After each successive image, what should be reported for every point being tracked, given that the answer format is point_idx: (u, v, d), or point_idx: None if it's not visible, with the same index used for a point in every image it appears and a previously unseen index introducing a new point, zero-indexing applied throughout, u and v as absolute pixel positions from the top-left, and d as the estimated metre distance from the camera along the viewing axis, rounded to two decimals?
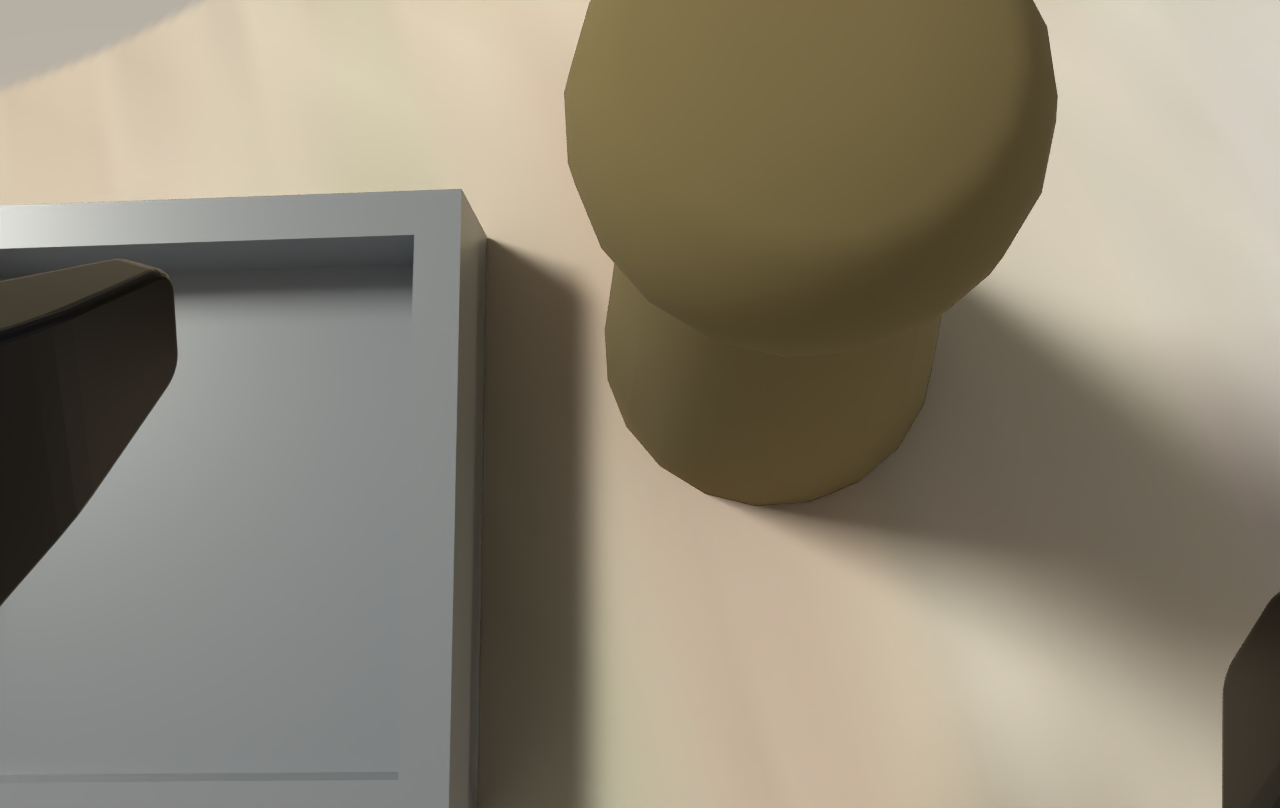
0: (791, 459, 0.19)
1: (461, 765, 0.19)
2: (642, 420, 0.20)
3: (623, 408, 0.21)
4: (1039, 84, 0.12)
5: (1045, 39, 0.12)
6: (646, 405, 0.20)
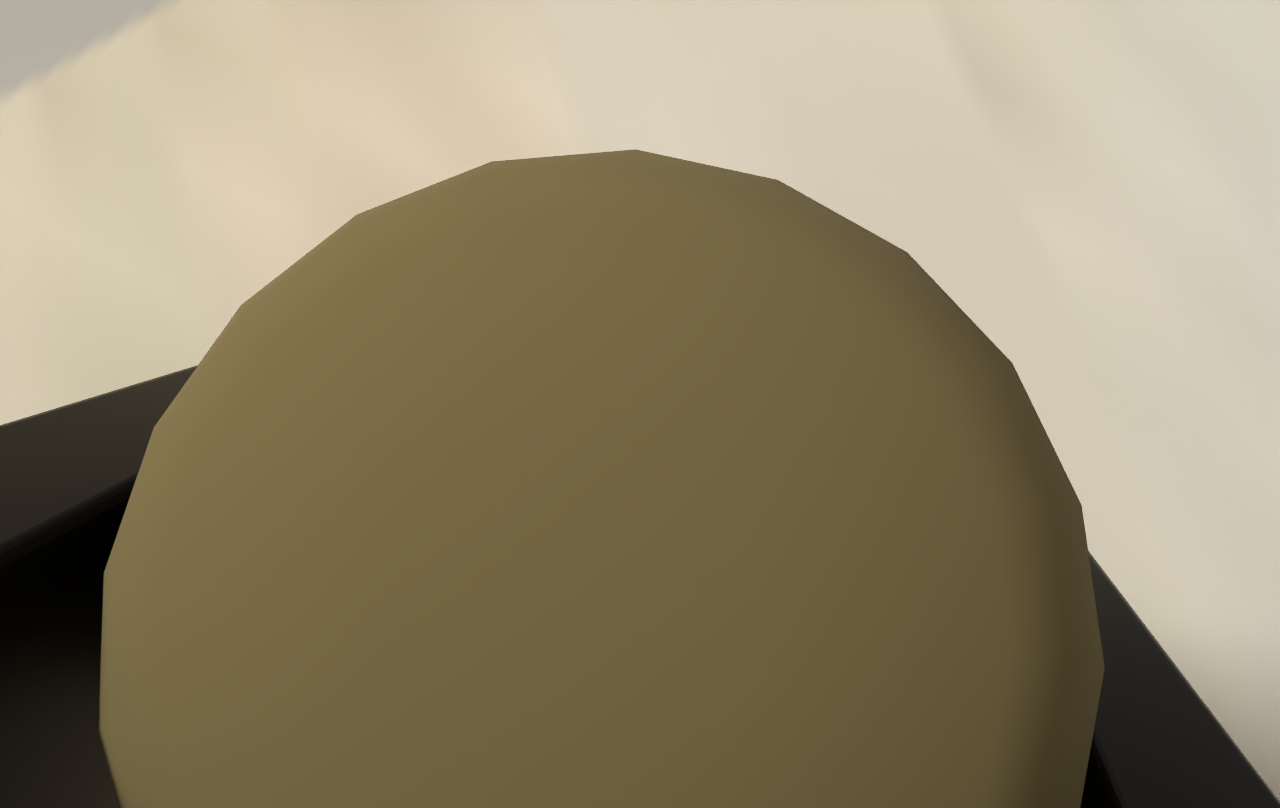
0: None
1: None
2: None
3: None
4: (1068, 681, 0.05)
5: (1079, 547, 0.06)
6: None
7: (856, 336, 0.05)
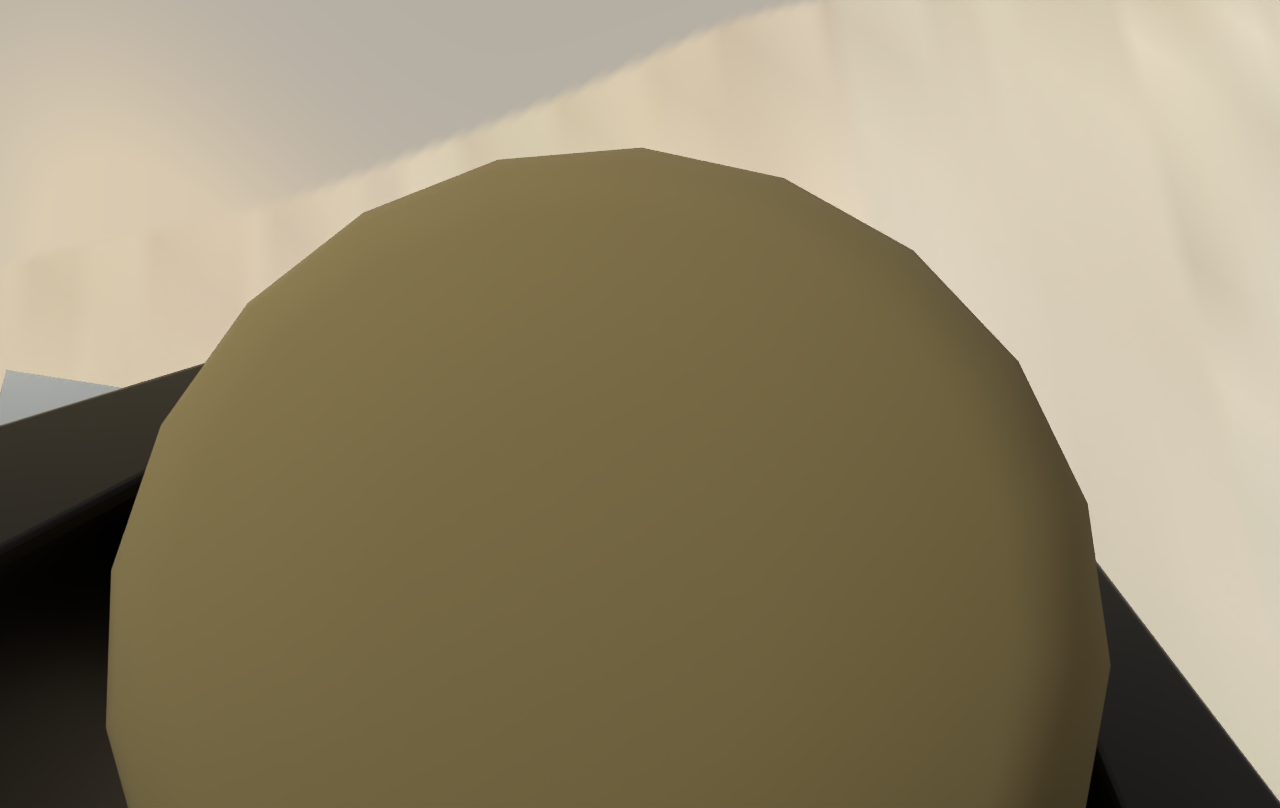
0: None
1: None
2: None
3: None
4: (1074, 679, 0.05)
5: (1085, 545, 0.06)
6: None
7: (863, 334, 0.05)
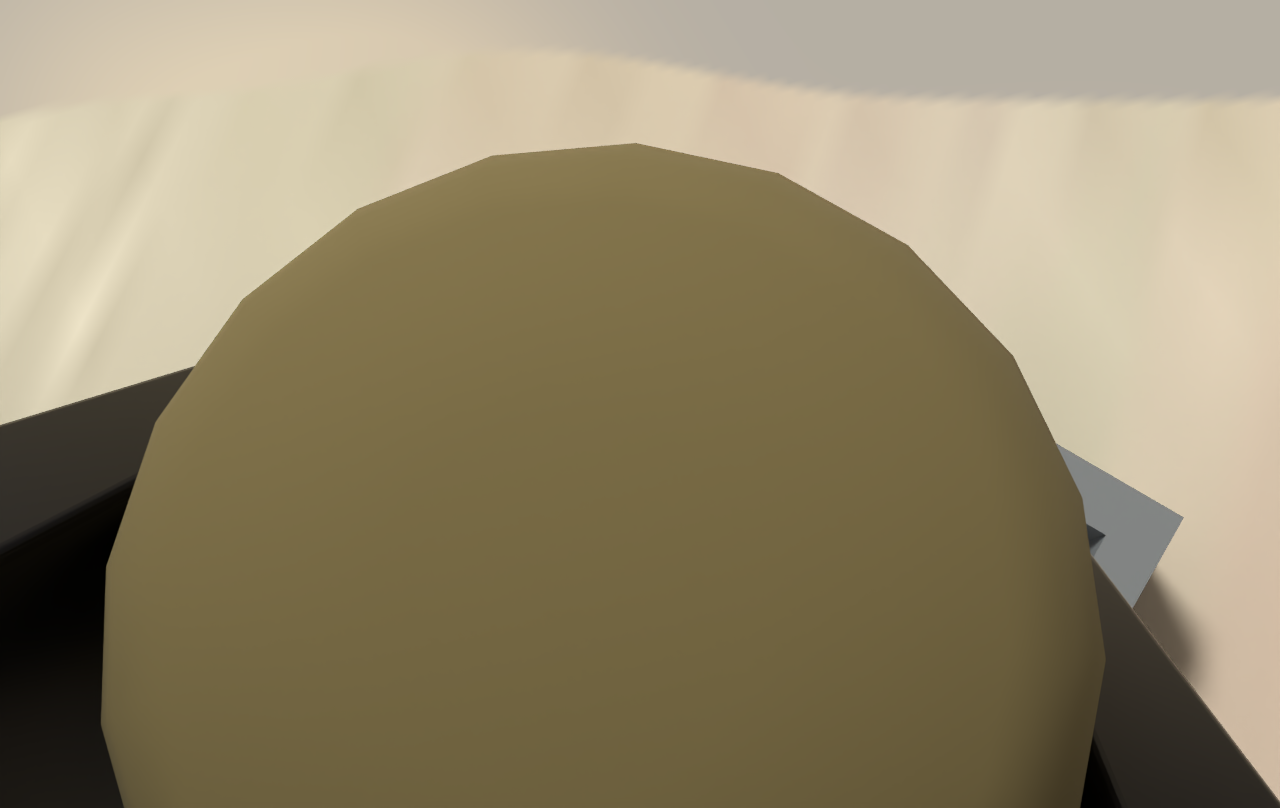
0: None
1: None
2: None
3: None
4: (1068, 673, 0.05)
5: (1079, 539, 0.06)
6: None
7: (856, 330, 0.05)
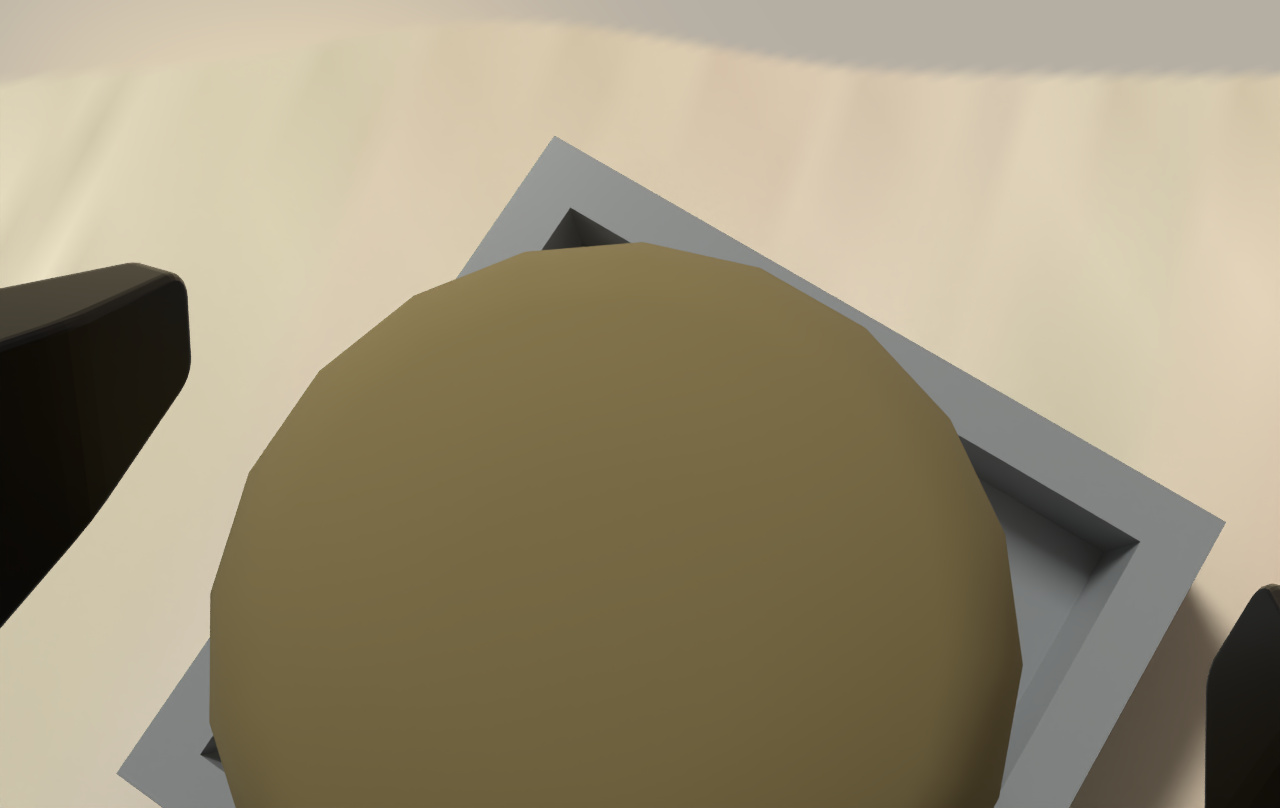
0: None
1: None
2: None
3: None
4: (990, 676, 0.07)
5: (1002, 569, 0.07)
6: None
7: (824, 404, 0.07)
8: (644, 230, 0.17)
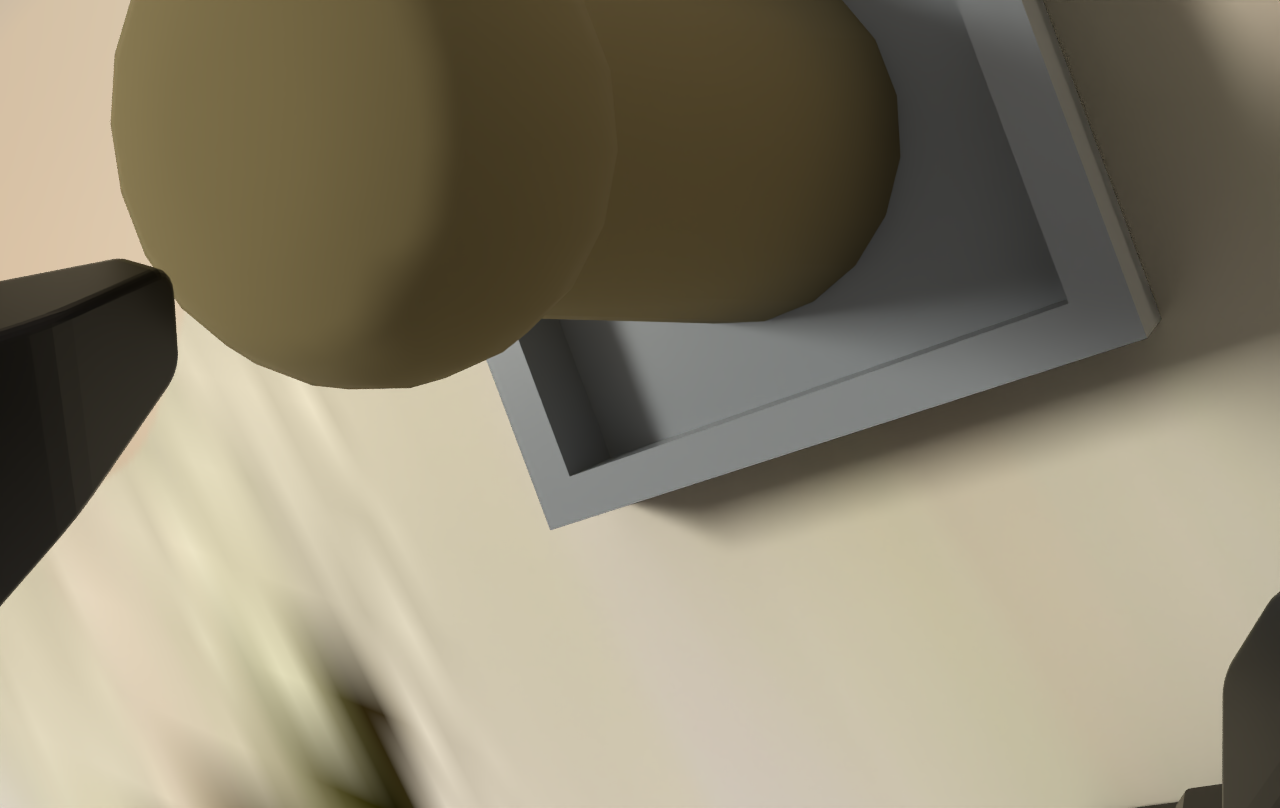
0: (798, 236, 0.17)
1: (1130, 268, 0.17)
2: (699, 322, 0.20)
3: None
4: None
5: None
6: (675, 320, 0.19)
7: None
8: None
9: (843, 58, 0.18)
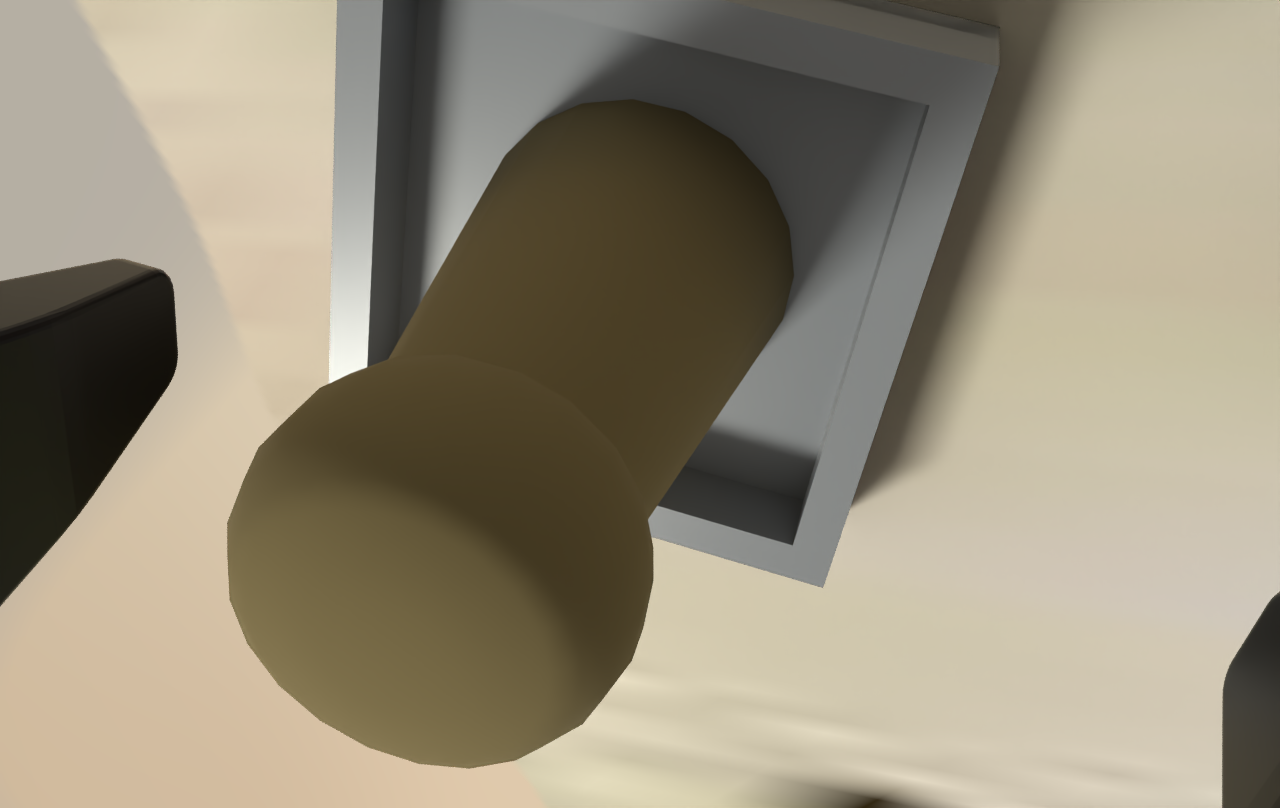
0: (732, 270, 0.19)
1: (939, 35, 0.18)
2: None
3: None
4: (331, 469, 0.13)
5: (290, 455, 0.13)
6: None
7: (252, 575, 0.14)
8: (355, 371, 0.24)
9: (628, 141, 0.20)
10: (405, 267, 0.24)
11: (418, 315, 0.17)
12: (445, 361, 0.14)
